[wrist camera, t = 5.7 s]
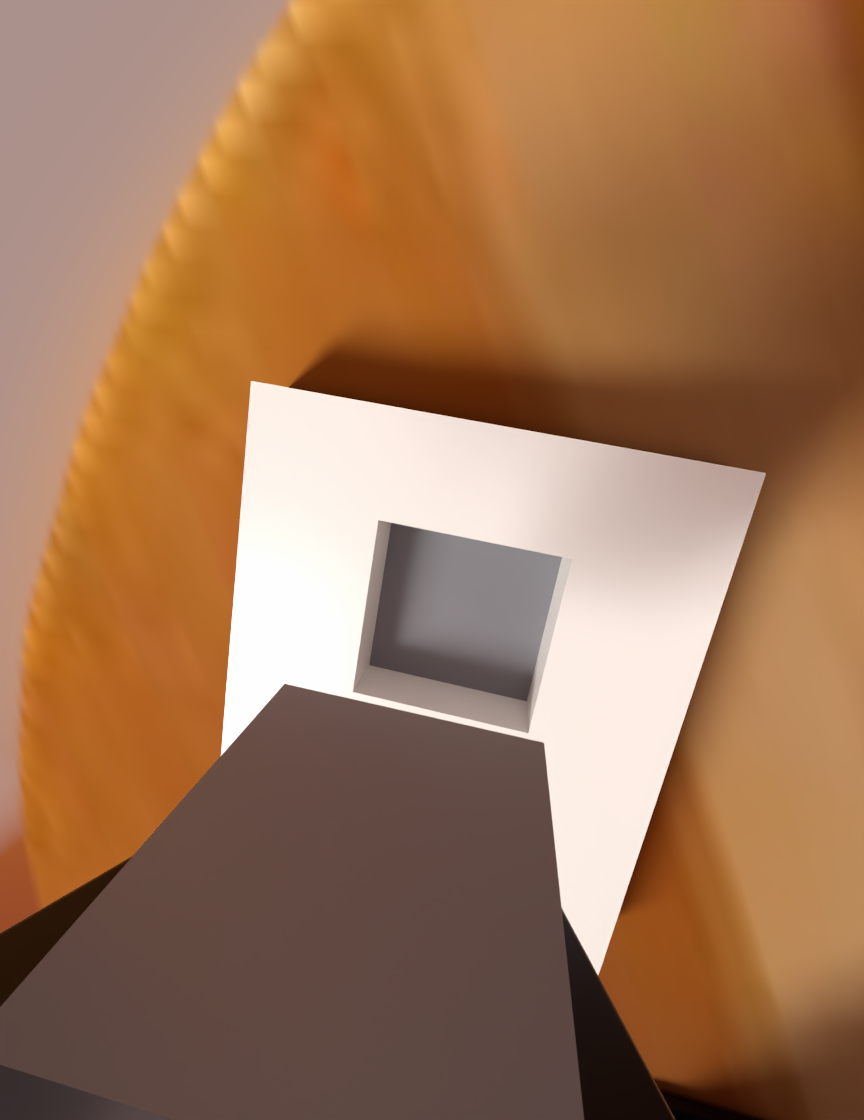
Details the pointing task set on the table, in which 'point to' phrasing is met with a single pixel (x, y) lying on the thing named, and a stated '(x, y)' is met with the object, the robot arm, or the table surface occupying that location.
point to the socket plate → (489, 598)
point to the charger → (318, 939)
